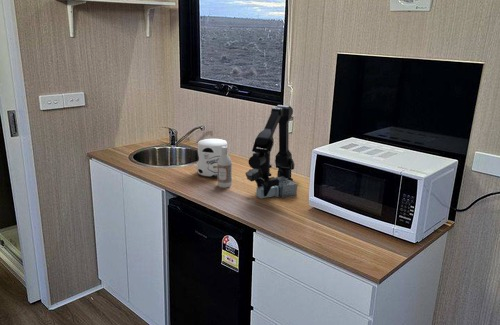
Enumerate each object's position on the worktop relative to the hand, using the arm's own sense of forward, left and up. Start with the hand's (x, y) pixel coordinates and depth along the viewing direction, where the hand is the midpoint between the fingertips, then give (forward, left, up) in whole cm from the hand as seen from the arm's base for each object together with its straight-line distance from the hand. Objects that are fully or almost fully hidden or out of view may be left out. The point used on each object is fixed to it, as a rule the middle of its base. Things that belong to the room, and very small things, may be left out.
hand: (262, 194), depth 204 cm
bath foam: (+9, -22, -1) cm, 24 cm away
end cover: (-6, 0, -1) cm, 6 cm away
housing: (-11, 0, -1) cm, 11 cm away
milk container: (+7, -40, -2) cm, 41 cm away
